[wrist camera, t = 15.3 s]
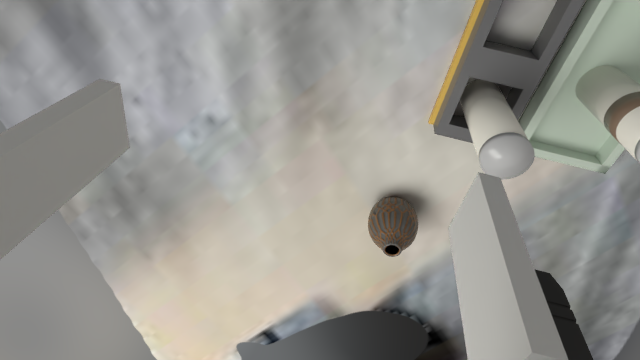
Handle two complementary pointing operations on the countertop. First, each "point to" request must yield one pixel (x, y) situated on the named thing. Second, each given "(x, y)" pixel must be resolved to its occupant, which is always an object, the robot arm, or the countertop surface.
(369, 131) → the countertop surface
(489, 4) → the fuse block
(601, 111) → the cylinder
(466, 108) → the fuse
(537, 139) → the tray
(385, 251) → the vase
